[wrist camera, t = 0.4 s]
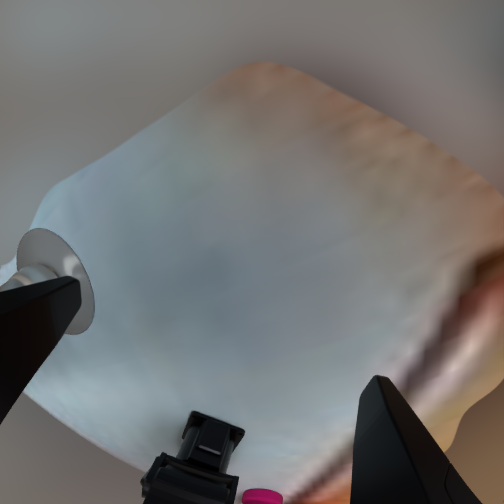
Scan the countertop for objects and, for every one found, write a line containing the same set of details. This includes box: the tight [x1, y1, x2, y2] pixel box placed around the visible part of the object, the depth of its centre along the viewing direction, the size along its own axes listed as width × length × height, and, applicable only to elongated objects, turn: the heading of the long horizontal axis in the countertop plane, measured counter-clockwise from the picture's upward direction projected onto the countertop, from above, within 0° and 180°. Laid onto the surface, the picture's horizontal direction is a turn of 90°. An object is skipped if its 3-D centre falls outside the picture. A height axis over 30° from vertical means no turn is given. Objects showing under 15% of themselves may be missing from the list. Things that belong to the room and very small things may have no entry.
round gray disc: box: [17, 228, 94, 335], centre depth 29 cm, size 13×13×1 cm
